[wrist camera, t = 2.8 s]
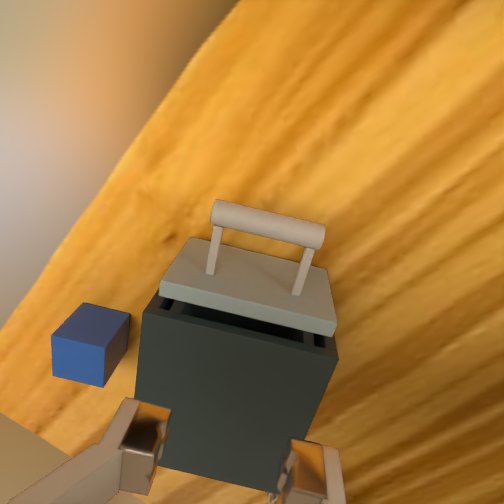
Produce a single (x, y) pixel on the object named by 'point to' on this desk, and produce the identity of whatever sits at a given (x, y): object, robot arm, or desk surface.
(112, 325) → the blue cube
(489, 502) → the desk surface
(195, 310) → the drawer
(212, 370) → the grey drawer cabinet
